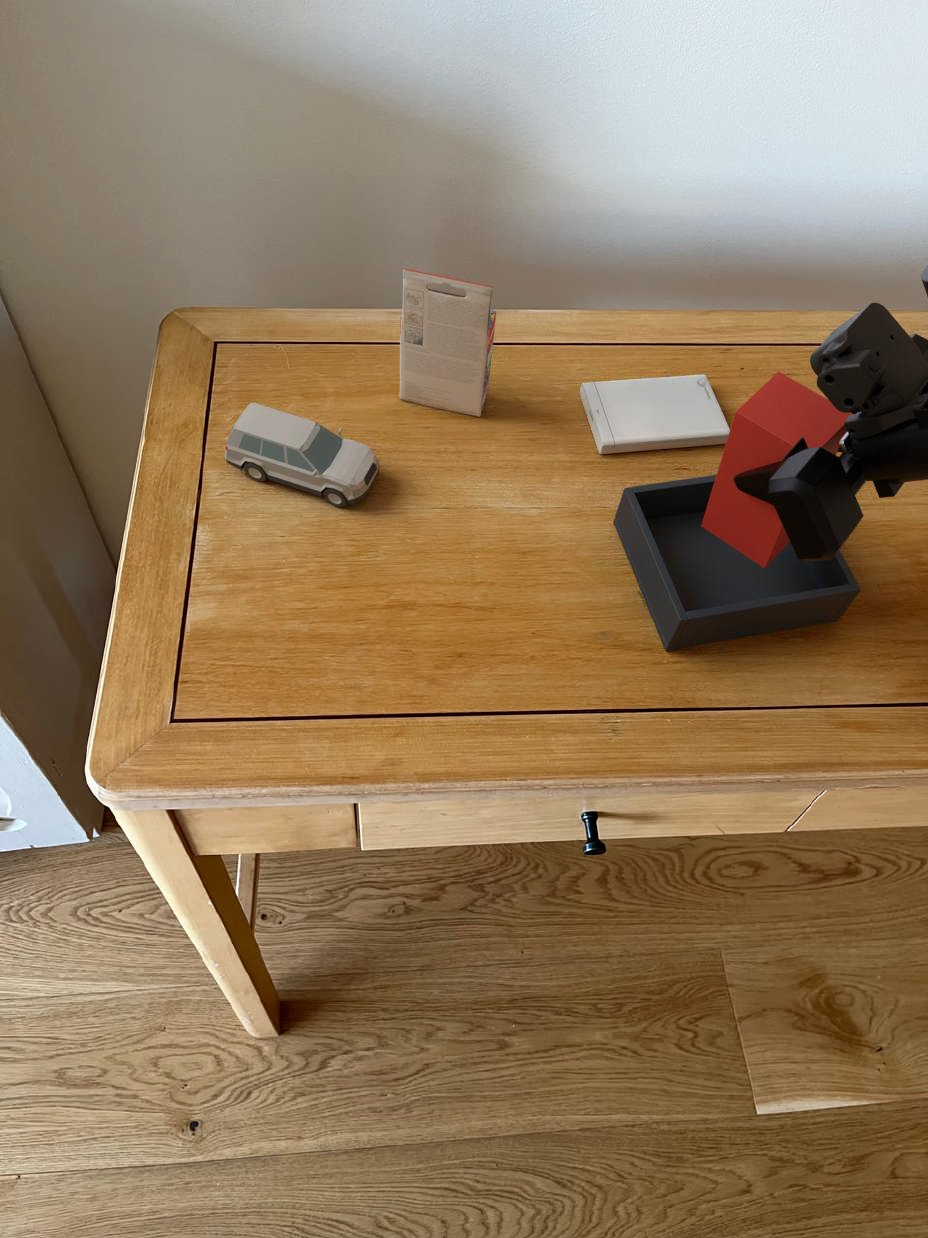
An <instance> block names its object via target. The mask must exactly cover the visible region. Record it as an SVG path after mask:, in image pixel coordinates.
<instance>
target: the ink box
mask: <svg viewBox="0 0 928 1238" xmlns="http://www.w3.org/2000/svg"><path fill="white" fill-rule="evenodd" d="M429 284H431V285H436V286H442V285H444V284H446V285H449V286H451V289H455V290H456V289H457V290H460V291H464V292H465V294H466V295H460V294H456V293H451V292H445V291H442V290H441V291H440V290H437V289H430V288H429V287H428V285H429ZM493 288H494V287H493V286H492V285H488V284H482V283H477V282H472V281H468V280H463V279H459V278H454V277H449V276H445V275H439V274H434V273H429V272H424V271H420V270H415V269H410V268H406V267H403V268H402V312H401V315H400V317H399V318H400V319H399V399H400V400H402V401H405V402H408V403H413V404H417V405H422V406H426V407H431V408H435V409H440V410H445V411H449V412H454V413H459V414H462V415H463V414H464V415H469V416H473V417H478V418H480V417H482V411H483V409H484V405H485V402H486V399H487V395H488V392H489V391H488V390H489V383H490V374H491V366H492V357H493V347H494V338H495V331H496V330H495V329H496V321H497V310H492V309H491V303H492V295H493Z"/></svg>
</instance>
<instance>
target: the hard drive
mask: <svg viewBox="0 0 928 1238" xmlns="http://www.w3.org/2000/svg"><path fill="white" fill-rule="evenodd" d="M579 397H580V400H581V402H582V406H583V409H584V413H585V415H586V417H587V421H588V424H589V428H590V429H591V433H592V436H593V440H594V442H595V446H596V449H597V452H598V453H599V454H600V455H606V454H618V453H631V452H643V451H654V450H656V451H657V450H666V449H667V450H668V449H678V448H690V447H702V446H715V445H726V442H727V439H728V435H729V432H730V429H731V428H730V427H729V424H728V423H727V420H726V417H725V416H724V413H723V411H722V408H721V406H720V404H719V402H718V399H717V397H716V395H715V393H714V391H713V389H712V386H711V384H710V381H709V379H708V377H707V375H706V374H705V373H704V374H689V375H676V376H675V375H674V376H663V377H662V376H661V377H660V376H659V377H645V378H634V379H633V378H631V379H619V380H617V379H616V380H605V381H604V380H603V381H594V382H592V381H591V382H582V383H581V385H580V389H579Z"/></svg>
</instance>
